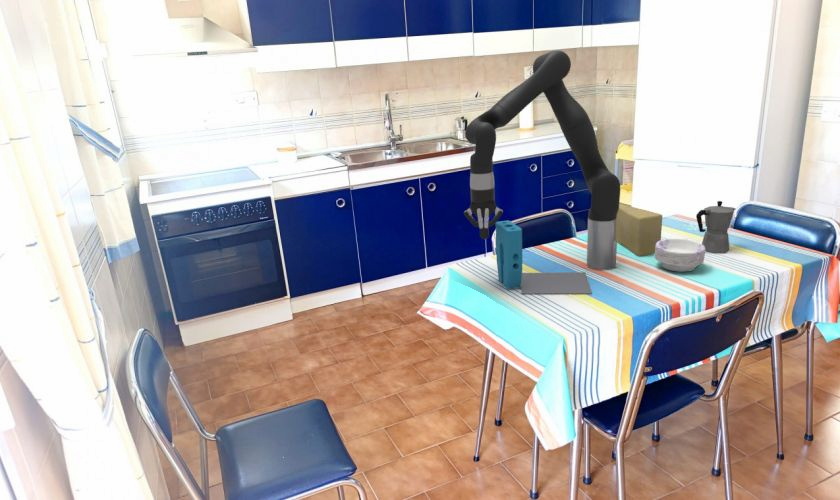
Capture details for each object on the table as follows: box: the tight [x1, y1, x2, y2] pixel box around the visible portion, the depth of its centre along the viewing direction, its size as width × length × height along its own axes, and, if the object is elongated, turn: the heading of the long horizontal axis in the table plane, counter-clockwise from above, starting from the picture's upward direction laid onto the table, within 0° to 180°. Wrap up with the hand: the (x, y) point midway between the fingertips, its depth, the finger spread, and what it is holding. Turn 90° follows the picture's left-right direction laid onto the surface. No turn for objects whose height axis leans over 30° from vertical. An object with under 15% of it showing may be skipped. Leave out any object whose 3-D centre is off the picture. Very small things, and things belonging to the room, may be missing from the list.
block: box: [495, 220, 523, 290], centre depth 182 cm, size 12×5×20 cm, turn 12°
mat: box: [520, 271, 593, 295], centre depth 183 cm, size 22×18×1 cm
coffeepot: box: [695, 200, 736, 254], centre depth 199 cm, size 15×9×18 cm, turn 103°
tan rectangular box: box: [616, 202, 663, 257], centre depth 209 cm, size 22×10×15 cm, turn 16°
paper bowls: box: [654, 238, 706, 273], centre depth 188 cm, size 15×15×8 cm
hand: (484, 238), depth 182 cm, fingers closed
